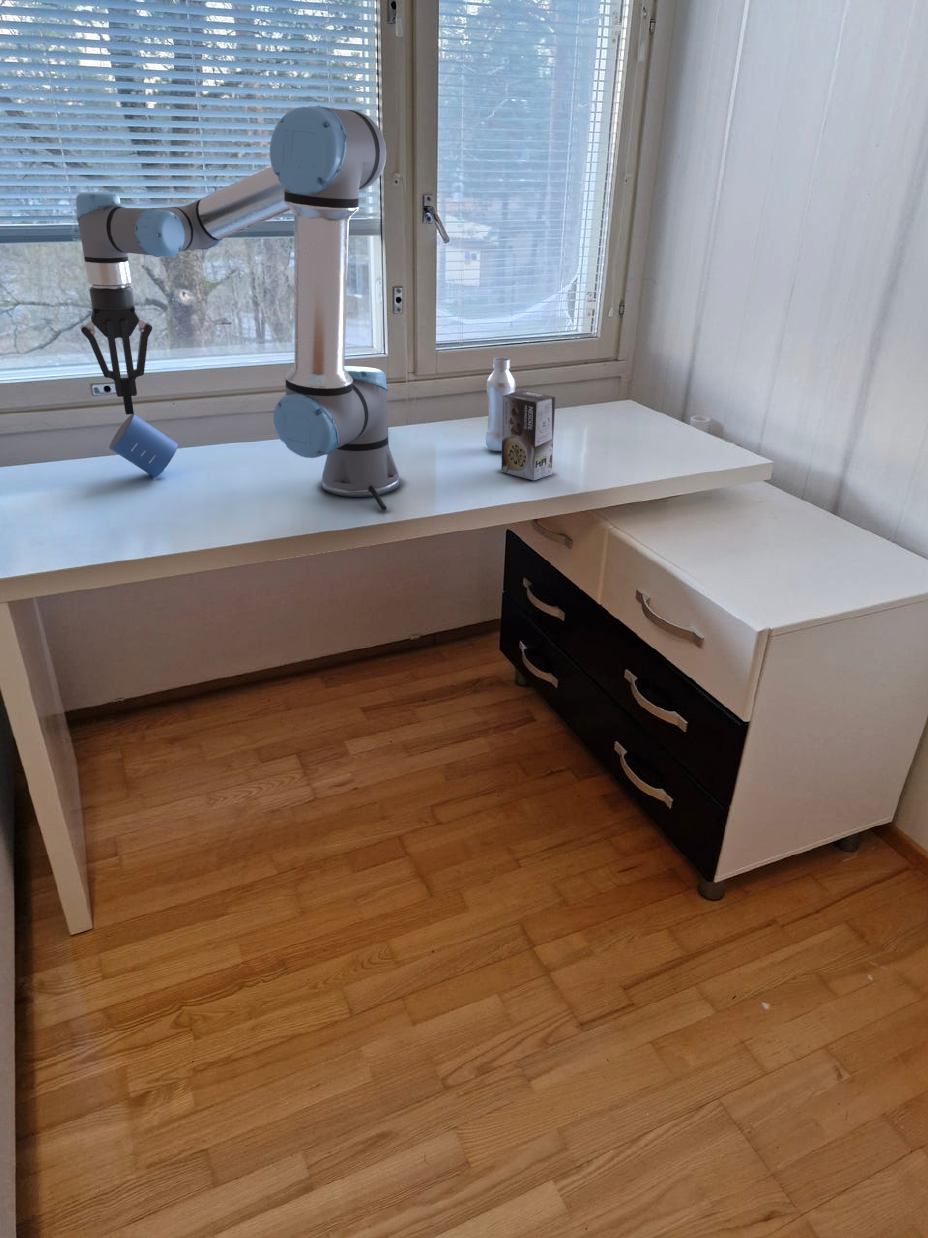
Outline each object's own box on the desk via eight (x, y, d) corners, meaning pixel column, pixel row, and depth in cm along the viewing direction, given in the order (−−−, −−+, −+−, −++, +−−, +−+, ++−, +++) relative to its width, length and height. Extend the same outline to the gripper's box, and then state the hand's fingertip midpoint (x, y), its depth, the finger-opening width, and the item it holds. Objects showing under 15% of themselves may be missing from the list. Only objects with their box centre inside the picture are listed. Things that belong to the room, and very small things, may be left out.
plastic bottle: (519, 448, 196) (522, 358, 187) (504, 456, 191) (507, 363, 182) (494, 444, 199) (496, 354, 190) (479, 451, 194) (480, 359, 185)
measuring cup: (154, 467, 182) (178, 437, 180) (153, 483, 175) (177, 452, 173) (110, 439, 176) (134, 407, 174) (107, 454, 169) (132, 421, 168)
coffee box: (553, 474, 180) (557, 396, 173) (533, 481, 176) (537, 401, 169) (519, 465, 186) (521, 388, 178) (499, 471, 182) (501, 394, 174)
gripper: (145, 282, 166) (161, 405, 177) (71, 283, 161) (93, 410, 172) (149, 287, 160) (166, 414, 171) (73, 289, 155) (95, 419, 166)
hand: (129, 412), depth 172 cm, fingers closed
